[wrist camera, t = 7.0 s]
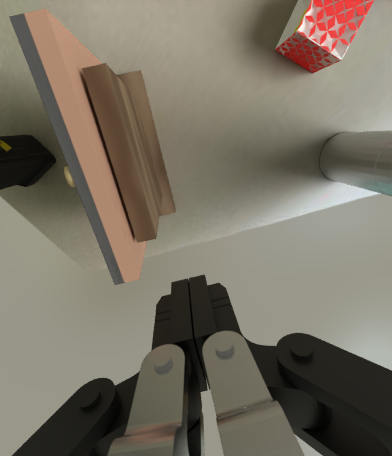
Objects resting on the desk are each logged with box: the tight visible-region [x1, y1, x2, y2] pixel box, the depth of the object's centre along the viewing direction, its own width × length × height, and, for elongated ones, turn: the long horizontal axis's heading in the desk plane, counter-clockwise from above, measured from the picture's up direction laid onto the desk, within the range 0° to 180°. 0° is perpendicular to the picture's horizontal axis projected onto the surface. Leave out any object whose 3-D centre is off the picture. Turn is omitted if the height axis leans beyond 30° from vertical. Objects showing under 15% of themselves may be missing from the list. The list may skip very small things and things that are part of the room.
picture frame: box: [10, 9, 147, 285], centre depth 28 cm, size 3×22×16 cm, turn 12°
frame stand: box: [82, 63, 176, 243], centre depth 34 cm, size 10×24×24 cm, turn 12°
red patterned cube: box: [275, 0, 374, 73], centre depth 38 cm, size 8×8×8 cm
